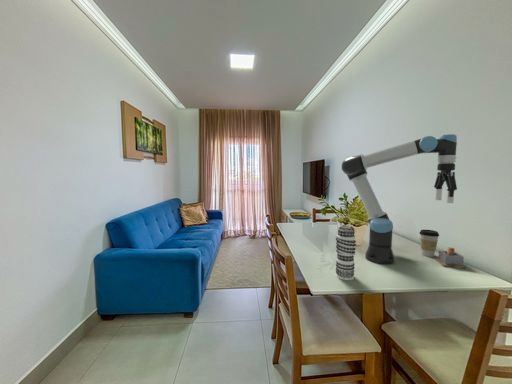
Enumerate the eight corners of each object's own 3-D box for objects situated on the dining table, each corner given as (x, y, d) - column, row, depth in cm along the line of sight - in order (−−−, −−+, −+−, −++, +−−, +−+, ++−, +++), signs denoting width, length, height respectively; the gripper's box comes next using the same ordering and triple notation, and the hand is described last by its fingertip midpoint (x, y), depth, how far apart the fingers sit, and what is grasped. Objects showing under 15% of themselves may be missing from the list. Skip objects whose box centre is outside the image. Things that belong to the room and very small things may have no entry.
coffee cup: (441, 258, 137) (443, 233, 136) (422, 257, 139) (424, 232, 138) (432, 252, 146) (433, 229, 145) (415, 251, 148) (416, 229, 147)
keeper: (443, 266, 125) (444, 250, 124) (435, 259, 135) (436, 244, 134) (465, 268, 122) (467, 252, 121) (456, 261, 132) (457, 246, 131)
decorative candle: (331, 276, 113) (332, 226, 111) (339, 270, 120) (341, 223, 118) (349, 282, 107) (351, 229, 105) (357, 276, 113) (359, 226, 111)
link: (445, 264, 126) (445, 255, 125) (438, 259, 133) (439, 250, 133) (463, 265, 123) (463, 256, 123) (455, 260, 131) (455, 251, 131)
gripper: (467, 162, 114) (464, 204, 116) (443, 164, 138) (441, 199, 139) (449, 162, 116) (446, 204, 118) (428, 164, 140) (426, 198, 142)
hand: (443, 201), depth 129 cm, fingers open, 13 cm apart
